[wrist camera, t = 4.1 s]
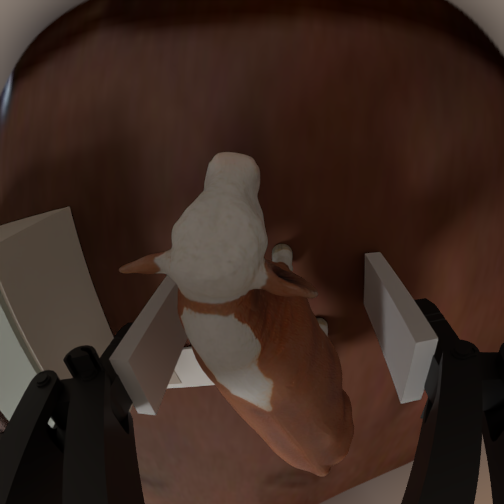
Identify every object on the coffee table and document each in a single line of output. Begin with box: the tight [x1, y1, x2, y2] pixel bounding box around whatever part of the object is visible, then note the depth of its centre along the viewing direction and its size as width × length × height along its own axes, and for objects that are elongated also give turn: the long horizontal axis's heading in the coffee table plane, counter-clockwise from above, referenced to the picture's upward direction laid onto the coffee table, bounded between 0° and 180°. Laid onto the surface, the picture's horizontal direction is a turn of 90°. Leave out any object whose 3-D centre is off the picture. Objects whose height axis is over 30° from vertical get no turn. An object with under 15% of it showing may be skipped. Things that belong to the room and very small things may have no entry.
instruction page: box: [167, 346, 215, 388], centre depth 17 cm, size 5×3×1 cm, turn 106°
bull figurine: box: [119, 152, 354, 476], centre depth 11 cm, size 4×13×8 cm, turn 20°
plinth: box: [0, 206, 133, 428], centre depth 14 cm, size 9×13×6 cm
